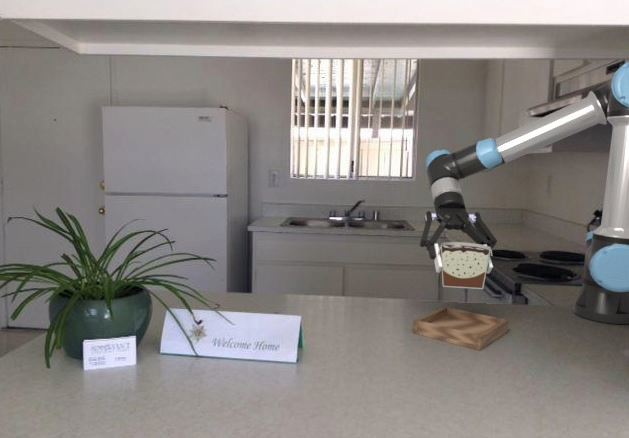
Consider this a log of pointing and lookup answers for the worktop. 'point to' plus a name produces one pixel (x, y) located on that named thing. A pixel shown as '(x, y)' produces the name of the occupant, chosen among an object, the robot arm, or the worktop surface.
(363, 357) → the worktop surface
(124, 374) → the worktop surface
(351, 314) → the worktop surface
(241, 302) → the worktop surface
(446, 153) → the robot arm
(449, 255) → the food container
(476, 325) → the walnut pocket tray
